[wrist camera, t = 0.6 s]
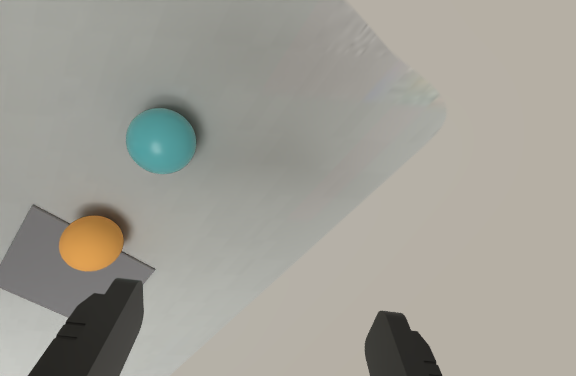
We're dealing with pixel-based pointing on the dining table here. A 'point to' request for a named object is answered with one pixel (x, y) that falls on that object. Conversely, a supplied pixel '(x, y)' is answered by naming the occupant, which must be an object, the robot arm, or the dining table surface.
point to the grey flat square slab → (57, 267)
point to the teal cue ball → (161, 141)
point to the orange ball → (91, 243)
